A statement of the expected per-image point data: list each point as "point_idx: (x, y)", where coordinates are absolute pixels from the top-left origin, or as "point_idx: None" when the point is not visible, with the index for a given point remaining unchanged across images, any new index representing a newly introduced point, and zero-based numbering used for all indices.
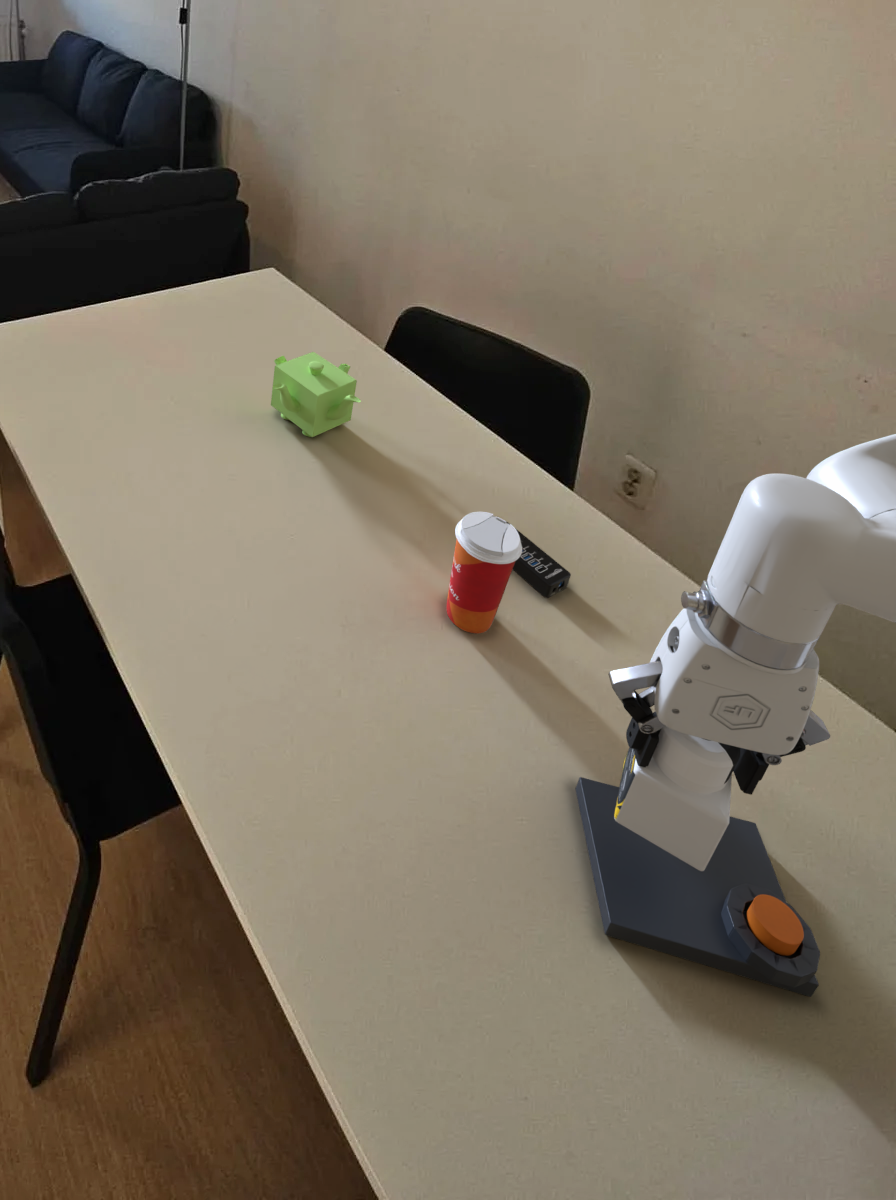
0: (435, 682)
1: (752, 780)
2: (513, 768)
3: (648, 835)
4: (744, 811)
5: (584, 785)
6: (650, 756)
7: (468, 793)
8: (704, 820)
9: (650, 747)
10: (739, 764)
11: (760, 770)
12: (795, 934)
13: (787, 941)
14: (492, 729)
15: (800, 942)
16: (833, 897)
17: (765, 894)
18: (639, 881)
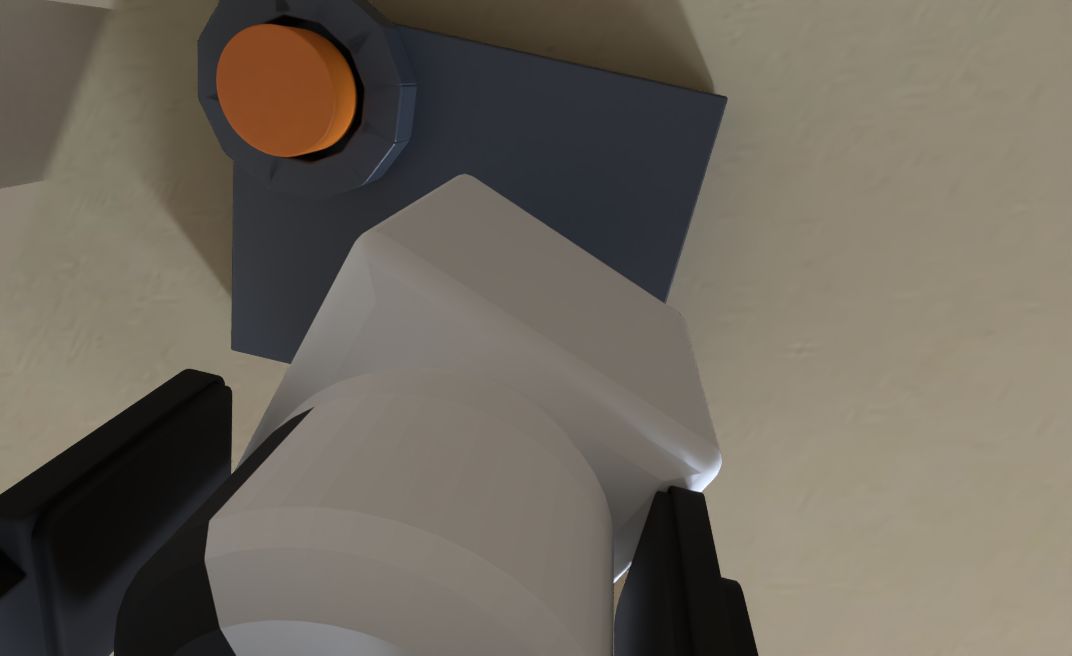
0: (861, 642)
1: (140, 426)
2: (759, 460)
3: (605, 269)
4: (245, 378)
5: None
6: (671, 546)
7: (915, 406)
8: (460, 262)
9: (715, 615)
10: (183, 501)
11: (47, 482)
12: (244, 51)
13: (275, 31)
14: (767, 542)
15: (239, 32)
16: (127, 213)
17: (279, 175)
18: (589, 206)
